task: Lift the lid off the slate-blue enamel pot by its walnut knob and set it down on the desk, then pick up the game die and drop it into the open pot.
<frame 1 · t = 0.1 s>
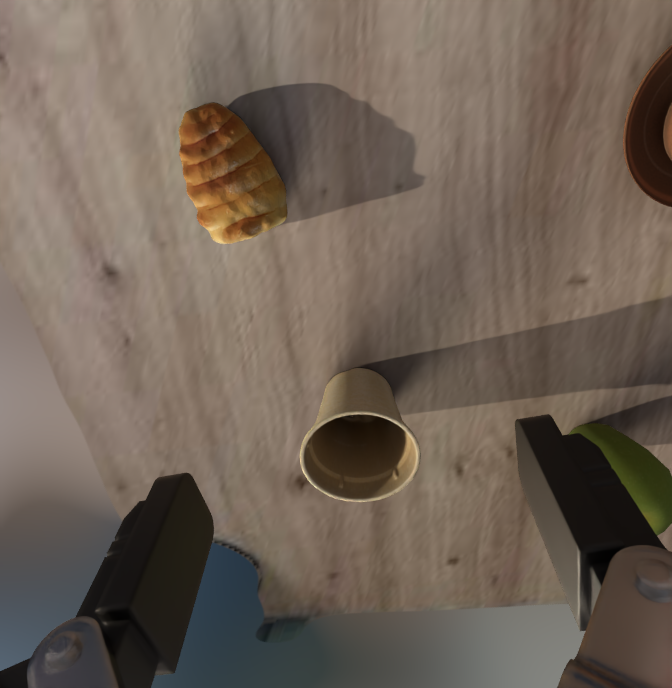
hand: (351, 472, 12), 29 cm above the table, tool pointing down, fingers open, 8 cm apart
flower pot: (358, 394, 47), on the table
apple: (580, 433, 49), on the table
pastry: (234, 180, 38), on the table
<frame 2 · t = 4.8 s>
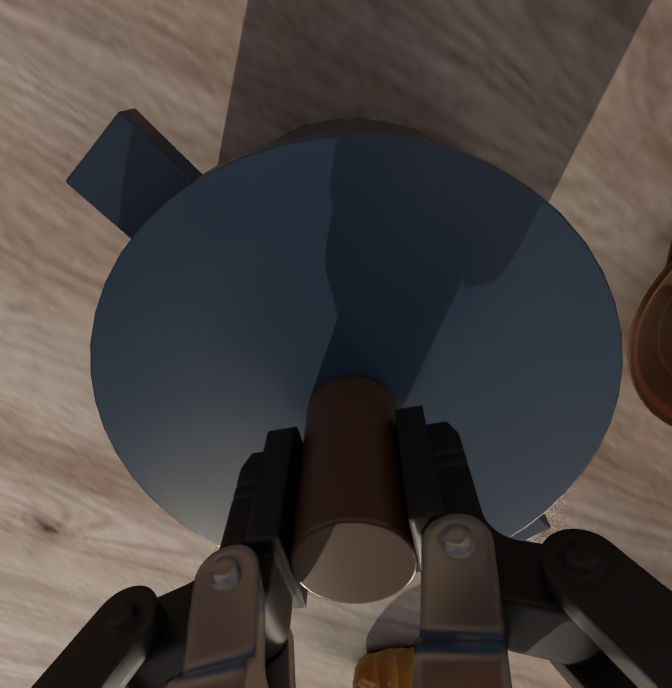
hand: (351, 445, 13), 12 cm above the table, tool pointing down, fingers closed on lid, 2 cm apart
pot: (351, 279, 23), on the table
lid: (352, 400, 15), point 10 cm above the table, touching gripper, pot
pastry: (421, 666, 39), on the table
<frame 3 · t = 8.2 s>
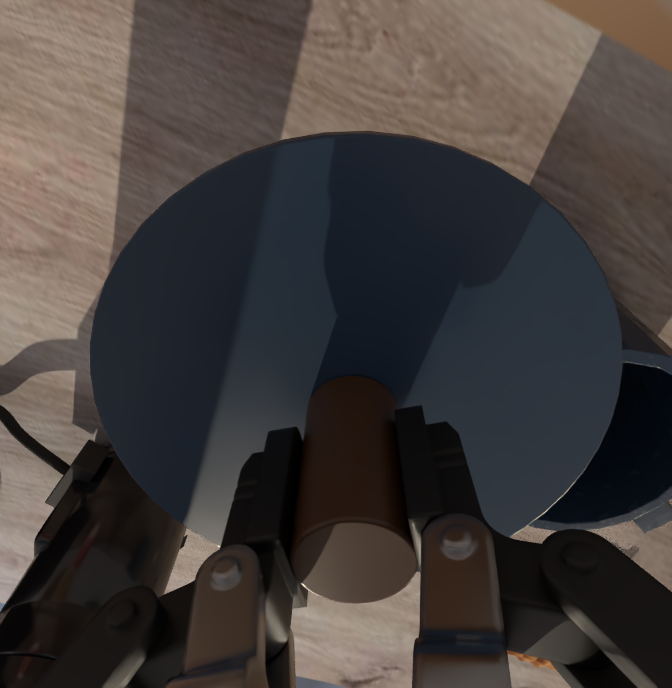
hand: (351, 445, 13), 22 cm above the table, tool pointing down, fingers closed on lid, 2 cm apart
pot: (539, 365, 38), on the table
lid: (352, 400, 15), point 20 cm above the table, touching gripper
pastry: (536, 622, 53), on the table
when the fingers open (3 cm above the table, at t = 12.0 s): lid stays where it is, point 1 cm above the table.
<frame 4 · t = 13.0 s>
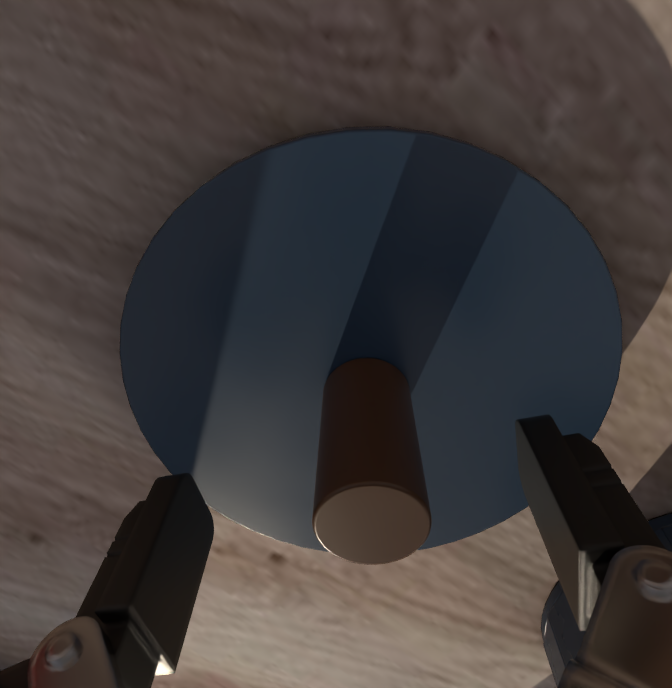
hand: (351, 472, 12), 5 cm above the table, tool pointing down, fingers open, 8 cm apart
lid: (365, 382, 16), point 1 cm above the table
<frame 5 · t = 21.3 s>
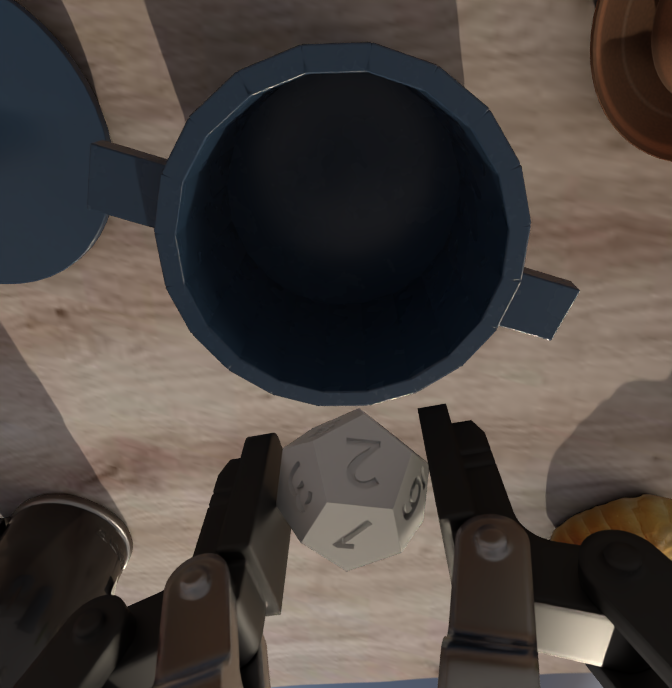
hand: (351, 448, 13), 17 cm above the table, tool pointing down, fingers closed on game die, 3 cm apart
pot: (343, 197, 27), on the table
game die: (352, 438, 13), point 17 cm above the table, touching gripper
pastry: (618, 523, 39), on the table
when the fingers open (6 cm above the table, at t = 24.7 s): game die drops 5 cm, resting on pot.
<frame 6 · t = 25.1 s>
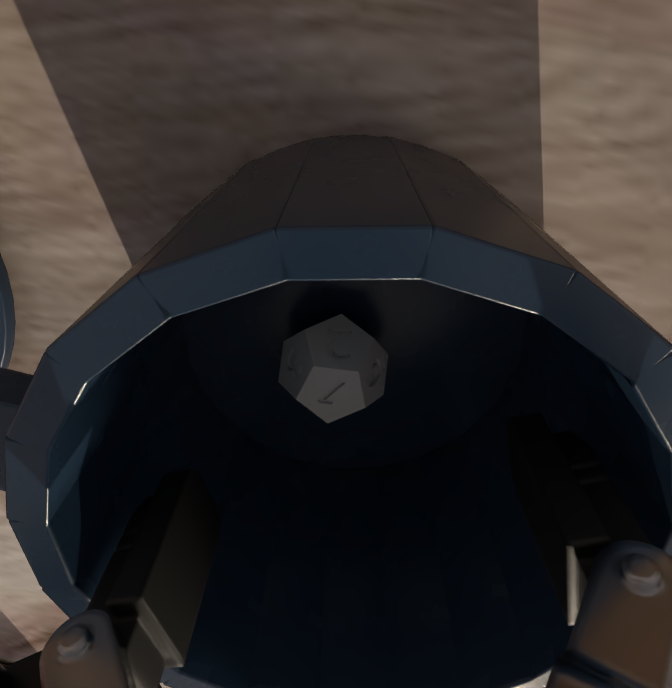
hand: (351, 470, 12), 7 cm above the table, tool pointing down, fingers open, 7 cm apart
pot: (352, 334, 18), on the table
game die: (335, 343, 18), resting on pot
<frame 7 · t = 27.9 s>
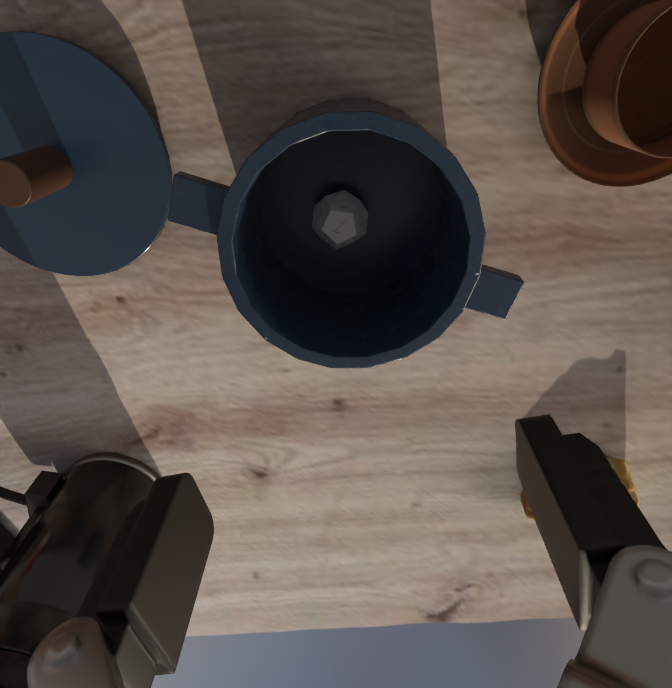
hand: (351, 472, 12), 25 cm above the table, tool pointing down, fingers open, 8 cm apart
cup and saucer: (629, 76, 30), on the table
pot: (350, 209, 34), on the table
lid: (57, 165, 33), point 1 cm above the table
game die: (340, 213, 34), resting on pot
pastry: (577, 481, 46), on the table
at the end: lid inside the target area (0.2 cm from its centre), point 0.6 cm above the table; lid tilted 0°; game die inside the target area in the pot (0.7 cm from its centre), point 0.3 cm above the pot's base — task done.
